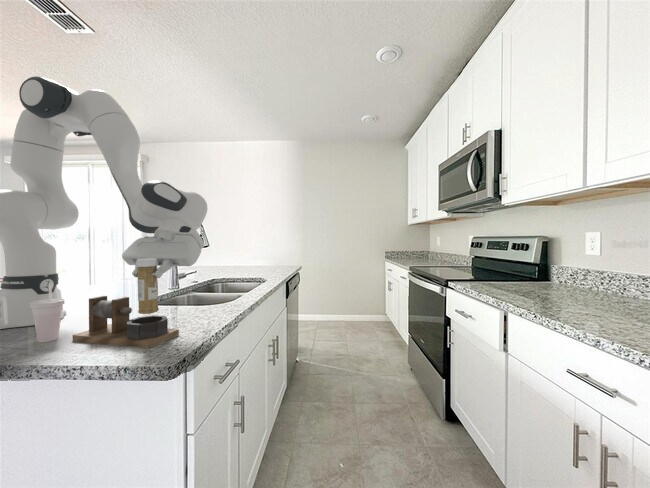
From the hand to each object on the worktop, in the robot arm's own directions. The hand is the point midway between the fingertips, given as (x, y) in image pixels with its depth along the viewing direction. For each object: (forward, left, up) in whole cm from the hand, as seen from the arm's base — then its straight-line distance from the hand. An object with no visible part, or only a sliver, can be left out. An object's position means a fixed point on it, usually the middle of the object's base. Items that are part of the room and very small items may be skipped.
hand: (145, 276), depth 75 cm
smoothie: (-24, -5, -16) cm, 29 cm away
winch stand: (-6, +1, -16) cm, 17 cm away
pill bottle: (0, +1, -9) cm, 9 cm away
